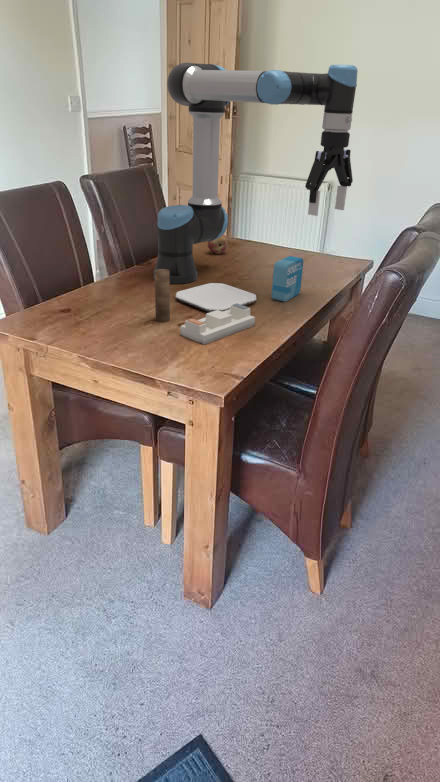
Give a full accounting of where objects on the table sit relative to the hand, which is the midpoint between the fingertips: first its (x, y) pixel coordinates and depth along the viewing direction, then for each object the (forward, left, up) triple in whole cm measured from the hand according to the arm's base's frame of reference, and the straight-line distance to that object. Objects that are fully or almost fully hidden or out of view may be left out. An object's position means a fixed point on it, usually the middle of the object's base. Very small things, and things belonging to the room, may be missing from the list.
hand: (326, 212), depth 162 cm
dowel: (-22, -43, -28) cm, 56 cm away
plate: (-23, -20, -28) cm, 42 cm away
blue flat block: (-11, 0, -28) cm, 30 cm away
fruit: (-62, +22, -28) cm, 72 cm away
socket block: (-6, -37, -28) cm, 47 cm away
